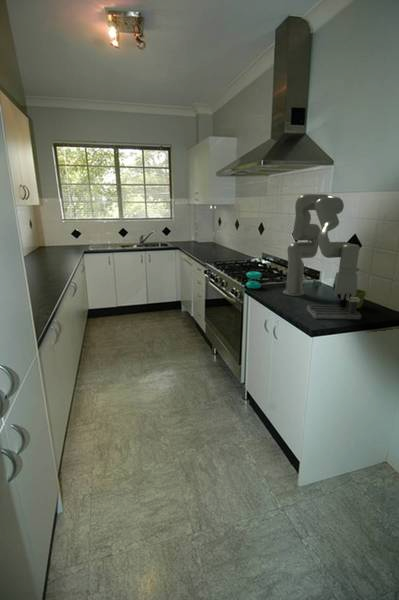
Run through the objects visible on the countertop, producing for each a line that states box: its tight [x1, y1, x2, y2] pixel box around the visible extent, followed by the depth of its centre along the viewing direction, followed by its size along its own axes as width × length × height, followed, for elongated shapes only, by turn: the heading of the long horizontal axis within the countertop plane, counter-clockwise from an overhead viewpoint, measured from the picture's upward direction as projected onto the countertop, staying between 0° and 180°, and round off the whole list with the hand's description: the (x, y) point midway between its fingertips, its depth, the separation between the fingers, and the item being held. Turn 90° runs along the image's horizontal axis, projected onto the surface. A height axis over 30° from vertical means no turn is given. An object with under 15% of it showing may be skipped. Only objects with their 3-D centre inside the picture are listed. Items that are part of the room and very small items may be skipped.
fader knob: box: [348, 297, 360, 313], centre depth 154 cm, size 3×4×8 cm
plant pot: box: [348, 288, 368, 309], centre depth 171 cm, size 9×9×9 cm
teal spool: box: [245, 271, 263, 290], centre depth 210 cm, size 10×10×10 cm
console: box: [306, 304, 362, 320], centre depth 160 cm, size 14×22×3 cm, turn 88°
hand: (342, 307), depth 155 cm, fingers closed
